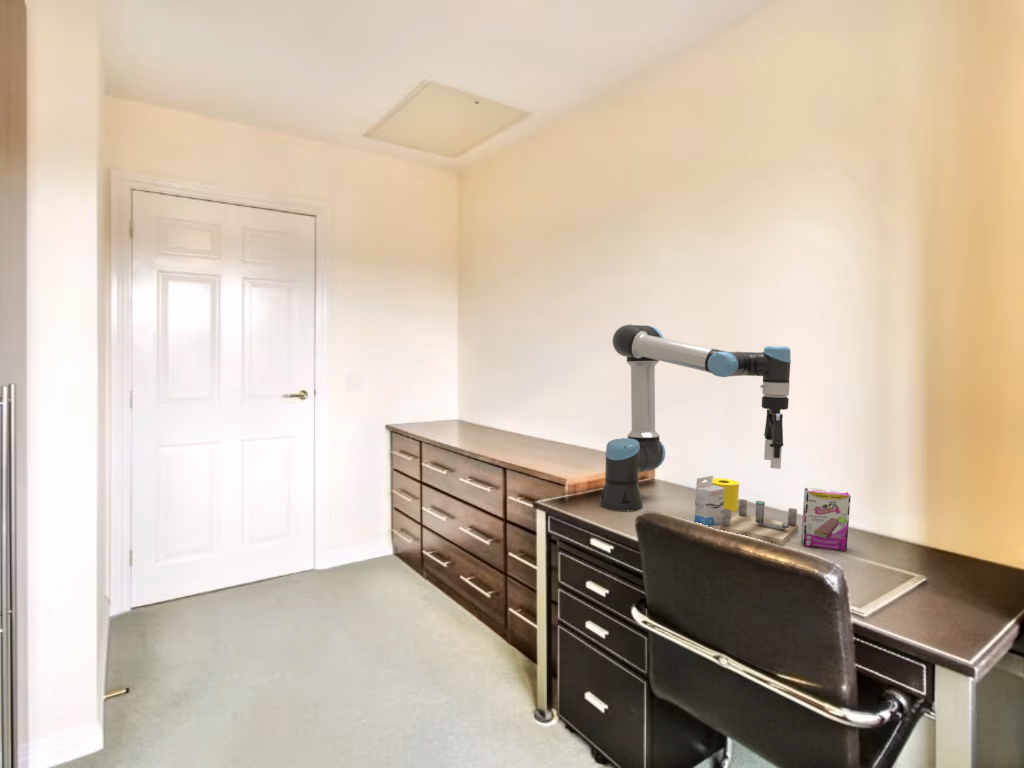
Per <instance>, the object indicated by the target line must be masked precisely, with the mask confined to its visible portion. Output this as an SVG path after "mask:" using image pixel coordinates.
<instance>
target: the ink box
mask: <svg viewBox="0 0 1024 768" xmlns="http://www.w3.org/2000/svg"><path fill="white" fill-rule="evenodd" d="M713 479H714V476H713V475H710V476H709V475H708V476H703V477H697V479H696V486H695V503H694V523H695V522H698V523H702V524H704V525H708V526H707V527H711V526H715V525H716V526H717V525H719V524H720V525H721V524H722V517H723V505H724V488H723V487H719V486H715V485H712V482H713ZM703 481H704V482H703Z"/></svg>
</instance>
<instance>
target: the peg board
mask: <svg viewBox="0 0 1024 768" xmlns="http://www.w3.org/2000/svg"><path fill="white" fill-rule="evenodd" d="M747 509H748V500H747V499H742V498H741V499H739V498H738V513H737V514H736V515H734V516H732V512H731V510H730V509H723V517H722V523H721V524H720V525H719V530H723V531H727V532H732V533H736V534H741V535H745V536H749V537H753V538H756V539H760V540H763V541H767V542H770V543H774V544H777V545H776V546H778V545H782V546H781V547H783V546H784V545H785V544H786V543H788V542H789V541H790V540H791V539H792V538H793V537H794V536H795V535H796V534H797V533H798V532H799V524H797V520H798V519H797V517H798V509H797V508H793V507H789V508H788V510H787V511H788V512H787V513H788V514H787V521H780V520H775V519H771V518H765V517H764V522H767V523H772V524H777V525H782V523H787V524H789V528H786V529H785V530H781V529H777V528H772V527H767V526H762V525H758V523H757V522H755V516H756V515H751V514H750V515H749V514H747V511H748V510H747ZM774 544H773V545H774Z"/></svg>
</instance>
